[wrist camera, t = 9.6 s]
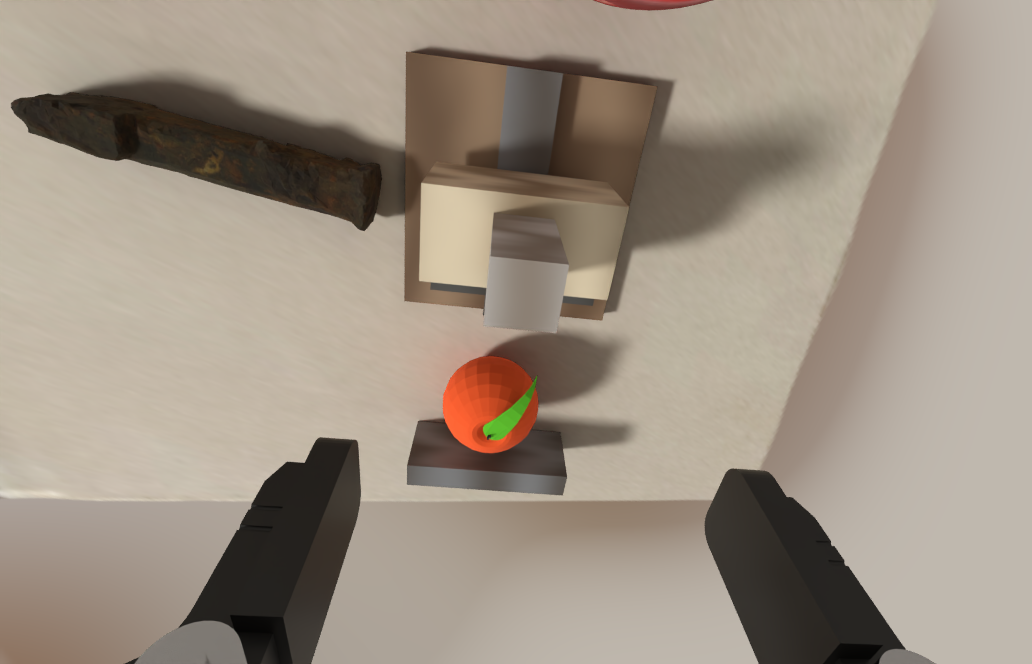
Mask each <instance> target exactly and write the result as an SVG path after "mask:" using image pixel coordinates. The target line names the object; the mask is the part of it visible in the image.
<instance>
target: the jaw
mask: <svg viewBox="0 0 1032 664" xmlns="http://www.w3.org/2000/svg"><path fill="white" fill-rule="evenodd" d="M628 211H629V207H628V205H627V204H626V203H625V202H624V201H623V200H622V198H621V197H620V196H619V195H618V194H617V193H616V192H615V190H614V189H613V188H612V187H611V186H610V185H609V183H608V182H600V181H592V180H584V179H575V178H567V177H559V176H551V175H542V174H534V173H526V172H518V171H510V170H501V169H493V168H485V167H477V166H468V165H460V164H452V163H444V162H436V163H435V164H434V166H433V167H432V168H431V170H430V171H429V173H428V174H427V176H426V177H425V178H424V180H423V181H422V183H421V217H420V262H419V281H424V282H431V286H430V290H439V291H449V292H459V293H469V294H479V295H486V300H485V312H484V325H483V326H486V327H497V328H507V329H518V330H528V331H539V332H549V333H557V328H558V322H559V317H560V311H561V306H562V303H568V304H578V305H588V306H593V303H594V299H600V300H607V299H608V295H609V291H610V287H611V283H612V278H613V274H614V270H615V266H616V262H617V257H618V253H619V249H620V245H621V240H622V236H623V232H624V228H625V224H626V219H627V215H628Z"/></svg>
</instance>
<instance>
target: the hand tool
mask: <svg viewBox="0 0 1032 664" xmlns="http://www.w3.org/2000/svg"><path fill="white" fill-rule="evenodd" d="M11 106H12V107H11V108H12V110H13V111H14V113H15V115H16V116H18V117H19V118H20V119H21V120H22V121H23V122H24V123H25V124H26V126H27V127H28V132H29V133H32V134H36V135H39V136H42V137H45V138H47V139H50V140H53V141H55V142H58V143H61V144H65V145H68V146H70V147H73V148H76V149H78V150H80V151H83V152H85V153H88V154H91V155H94V156H96V157H99V158H104V159H109V160H115V161H119V160H123V159H129V160H132V161H136V162H139V163H141V164H146V165H150V166H154V167H159V168H163V169H167V170H170V171H175V172H179V173H183V174H185V175H187V176H190V177H194V178H198V179H201V180H205V181H208V182H211V183H214V184H218V185H221V186H225V187H228V188H232V189H235V190H239V191H242V192H246V193H250V194H253V195H256V196H261V197H265V198H268V199H271V200H275V201H279V202H283V203H287V204H289V205H293V206H297V207H301V208H305V209H309V210H314V211H317V212H320V213H324V214H329V215H332V216H335V217H339V218H342V219H344V220H347V221H350V222H352V223H353V224H354V225H355V226H356V227H357V228H358V229H359V230H363V231H365V230H366V229H367V228H368V227H369V225H370V224H371V223H372V222H373V220H374V216H375V213H376V209H377V205H378V200H379V196H380V190H381V180H382V178H381V169H380V165H379V164H374V163H369V164H365V165H360V164H359V163H357V162H355V161H353V160H352V159H349V158H345V159H342V160H338V159H335V158H333V157H331V156H327V155H324V154H320V153H318V152H316V151H314V150H310V149H304V148H301V147H299V146H296V145H292V144H288V143H287V145H284V144H280V143H277V142H274V141H271V140H268V139H266V138H264V137H258V136H254V135H250V134H246V133H243V132H239V131H235V130H231V129H228V128H224V127H220V126H216V125H213V124H209V123H206V122H203V121H199V120H196V119H192V118H188V117H183V116H180V115H177V114H174V113H170V112H166V111H162V110H160V109H158V108H157V107H156V106H154V105H150V104H146V103H142V102H137V101H132V100H127V99H121V98H116V97H105V96H101V97H99V96H89V95H81V94H79V93H71V92H70V93H68V94H66V95H52V94H49V93H48V94H45V95H38V96H35V97H28V98H19V99H17V100H14V101H13V102H12V103H11Z"/></svg>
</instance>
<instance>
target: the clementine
mask: <svg viewBox="0 0 1032 664" xmlns="http://www.w3.org/2000/svg"><path fill="white" fill-rule="evenodd" d="M536 380H537V376H536V378H535V380H534V382H533V381H532V379H531V377H530V376H529V375H528V374H527V373H526V372H525V371H524V370H523V369H522V368H521V367H520V366H519V365H517V364H516V363H514V362H513V361H511V360H508V359H505V358H502V357H495V356H487V357H479V358H477V359H474V360H471V361H469V362H468V363H466V364H465V365H463V366H462V367H460V368H459V369H458V370H457V371H456V372H455V373H454V374H453V376H452V377H451V378H450V380H449V383H448V385H447V387H446V390H445V392H444V396H443V414H444V418H445V422H446V424H447V426H448V428H449V429H450V431H451V433H452V434H453V436H454V437H455V438H456V439H457V440H458V441H459V442H461V443H462V444H464V445H465V446H467V447H469V448H470V449H472V450H475V451H478V452H482V453H497V452H502V451H505V450H508V449H510V448H512V447H513V446H515V445H517V444H518V443H520V442H521V441H522V440H523V439H524V438H525V437H526V436H527V435H528V434H529V432H530V430H531V428H532V427H533V425H534V423H535V421H536V417H537V412H538V404H539V403H538V395H537V391H536V388H535V385H536Z"/></svg>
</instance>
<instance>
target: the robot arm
mask: <svg viewBox="0 0 1032 664" xmlns="http://www.w3.org/2000/svg"><path fill="white" fill-rule="evenodd" d="M360 497H361V486H360V468H359V450H358V442H357V440H349V439H335V438H322V437H320V438H318V439H317V440H316V441H315V443H314V445H313V447H312V449H311V451H310V453H309V455H308V457H307V459H306V461H305V463H298V462H286V463H285V464H284V465H283V466H282V467H280V468H279V469H278V470H277V471H276V472H275V473H274V474H272V475H271V476H270V477H269V478H268V479H267V480H266V481H265V482H264V484H263V485H262V487H261V489H260V491H259V492H258V494H257V496H256V498H255V499H254V501H253V503H252V506H251V509H250V510H248V512H247V513H246V515H245V517H244V519H243V521H242V523H241V524H240V529H239V530H237V531H236V533H235V535H234V537H233V538H232V540H231V542H230V544H229V545H228V547H227V549H226V550H225V552H224V554H223V556H222V558H221V560H220V561H219V563H218V565H217V566H216V568H215V570H214V572H213V574H212V575H211V577H210V579H209V581H208V582H207V584H206V586H205V587H204V589H203V591H202V593H201V595H200V596H199V598H198V600H197V602H196V603H195V605H194V607H193V609H192V610H191V612H190V613H189V615H188V616H187V618H186V619H185V620H184V621H183V623H182V624H181V625H180V626H179V628H177V629H175V630H173V631H172V632H170V633H168V634H166V635H165V636H163V637H162V638H161V639H159V640H158V641H156V642H155V643H154V644H153V645H151V646H150V647H149V648H148V649H147V650H146V651H145V652H144V653H143V654H142V655H141V656H140V657H139V658H137V659H134V660H132V661H130V662H128V663H125V664H311V662H312V659H313V656H314V653H315V650H316V646H317V643H318V640H319V637H320V634H321V631H322V628H323V624H324V621H325V618H326V615H327V612H328V609H329V605H330V602H331V599H332V596H333V593H334V590H335V587H336V584H337V580H338V577H339V574H340V571H341V568H342V565H343V561H344V558H345V555H346V552H347V549H348V546H349V542H350V540H351V536H352V533H353V530H354V527H355V524H356V520H357V517H358V511H359V506H360ZM705 535H706V540H707V543H708V546H709V548H710V550H711V553H712V555H713V557H714V560H715V562H716V564H717V567H718V569H719V571H720V574H721V576H722V578H723V581H724V583H725V585H726V588H727V590H728V593H729V595H730V597H731V600H732V602H733V604H734V606H735V609H736V611H737V613H738V616H739V618H740V621H741V623H742V625H743V628H744V630H745V632H746V634H747V637H748V639H749V642H750V644H751V646H752V649H753V651H754V653H755V656H756V658H757V660H758V662H759V664H935V663H934V662H932V661H930V660H929V659H927V658H925V657H923V656H921V655H919V654H917V653H914V652H911V651H908V650H906V649H905V648H904V646H903V645H902V644H901V642H900V641H899V640H898V638H897V637H896V635H895V634H894V632H893V631H892V629H891V628H890V627H889V625H888V624H887V622H886V621H885V619H884V618H883V616H882V615H881V613H880V612H879V611H878V609H877V607H876V606H875V605H874V603H873V602H872V600H871V599H870V597H869V596H868V594H867V593H866V592H865V590H864V589H863V587H862V586H861V585H860V583H859V581H858V580H857V578H856V577H855V575H854V574H853V573H852V571H851V570H850V568H849V567H848V566H845V564H844V559H843V558H842V557H841V555H840V554H839V552H838V551H837V549H836V548H835V546H831V541H830V539H829V538H828V536H827V535H826V533H825V532H824V530H823V529H822V527H821V526H820V525H819V523H818V522H817V520H816V519H815V518H814V517H813V516H812V515H811V514H810V513H809V512H808V511H807V510H806V509H804V508H803V507H802V506H801V505H800V504H799V503H798V502H797V501H795V500H794V499H793V498H791V497H786V495H785V494H784V492H783V491H782V489H781V488H780V486H779V485H778V483H777V482H776V480H775V478H774V477H773V476H772V475H771V474H770V473H769V472H767V471H760V470H746V469H730V470H728V471H727V472H726V474H725V476H724V478H723V480H722V482H721V484H720V486H719V489H718V491H717V493H716V495H715V497H714V499H713V501H712V504H711V506H710V508H709V510H708V512H707V515H706V518H705Z"/></svg>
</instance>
